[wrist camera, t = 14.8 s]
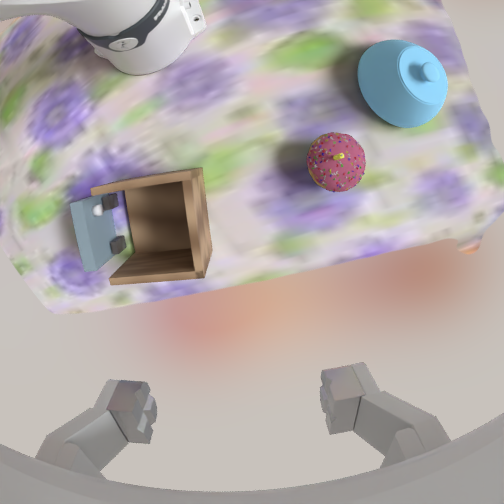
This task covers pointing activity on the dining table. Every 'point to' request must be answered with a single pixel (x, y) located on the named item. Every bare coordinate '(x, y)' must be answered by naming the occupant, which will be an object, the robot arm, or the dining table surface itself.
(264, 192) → the dining table surface
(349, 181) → the cupcake
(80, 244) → the door
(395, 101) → the sugar bowl
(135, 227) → the cabinet
